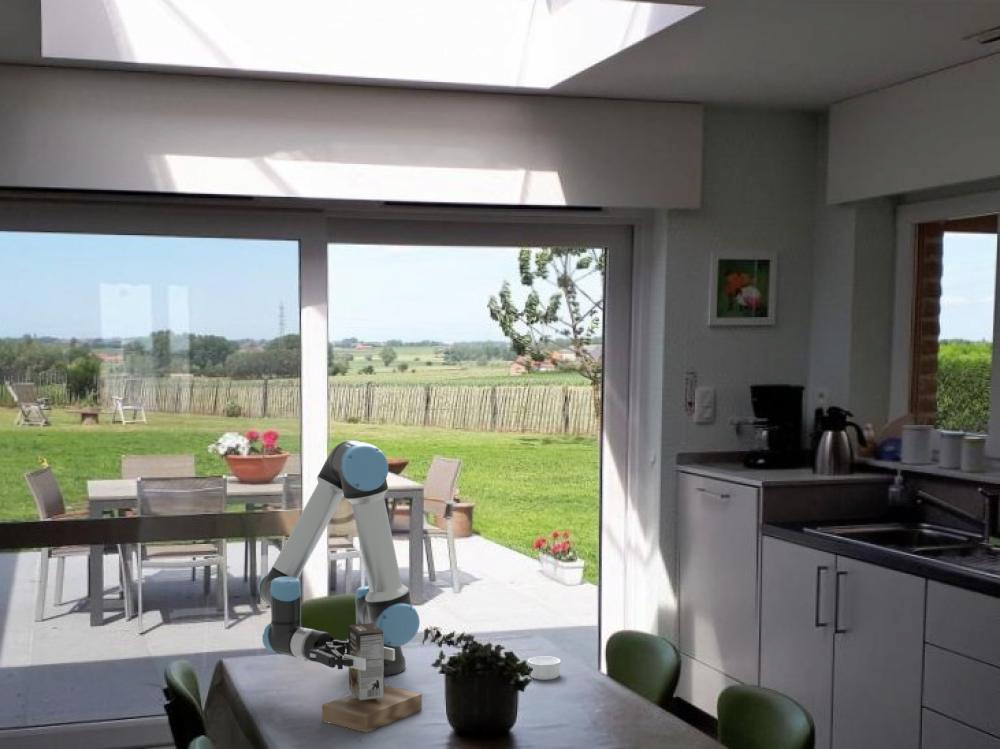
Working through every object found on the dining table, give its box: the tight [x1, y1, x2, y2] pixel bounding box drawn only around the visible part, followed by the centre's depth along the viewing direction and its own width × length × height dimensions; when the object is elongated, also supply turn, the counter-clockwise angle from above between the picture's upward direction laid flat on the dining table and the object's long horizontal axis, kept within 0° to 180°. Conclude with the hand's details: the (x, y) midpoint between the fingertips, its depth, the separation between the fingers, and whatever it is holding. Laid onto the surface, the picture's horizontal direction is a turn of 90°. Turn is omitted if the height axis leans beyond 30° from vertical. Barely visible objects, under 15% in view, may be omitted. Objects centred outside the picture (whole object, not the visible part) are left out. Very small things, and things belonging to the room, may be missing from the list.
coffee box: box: [347, 623, 385, 700], centre depth 288 cm, size 9×6×16 cm
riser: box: [321, 685, 423, 733], centre depth 289 cm, size 20×14×4 cm
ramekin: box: [527, 655, 562, 681], centre depth 320 cm, size 9×9×4 cm
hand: (379, 659), depth 285 cm, fingers closed on coffee box, 9 cm apart
